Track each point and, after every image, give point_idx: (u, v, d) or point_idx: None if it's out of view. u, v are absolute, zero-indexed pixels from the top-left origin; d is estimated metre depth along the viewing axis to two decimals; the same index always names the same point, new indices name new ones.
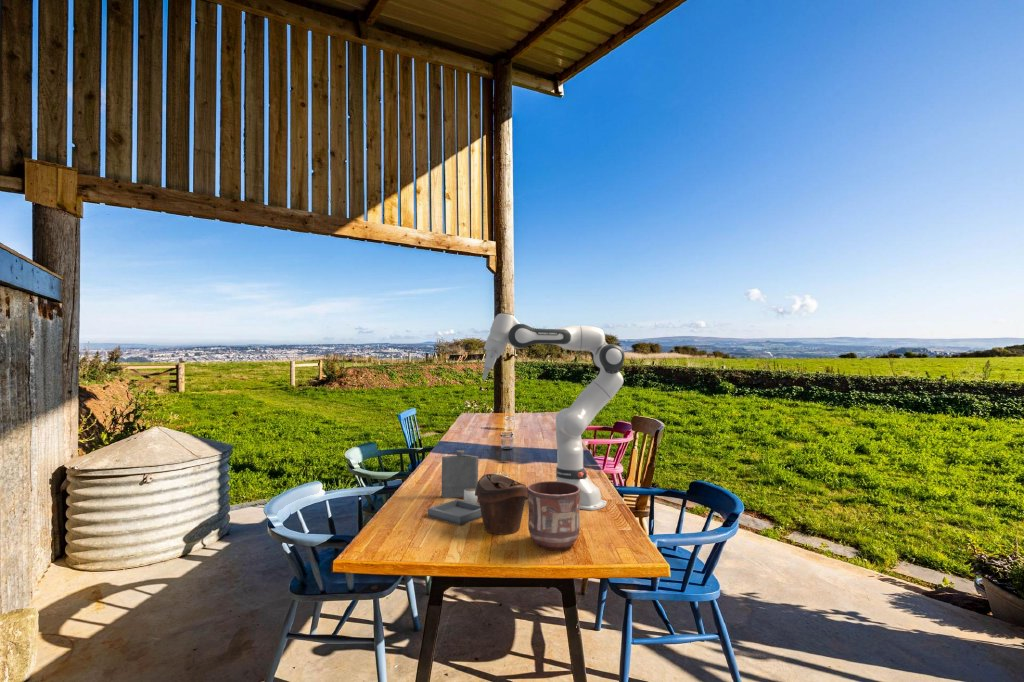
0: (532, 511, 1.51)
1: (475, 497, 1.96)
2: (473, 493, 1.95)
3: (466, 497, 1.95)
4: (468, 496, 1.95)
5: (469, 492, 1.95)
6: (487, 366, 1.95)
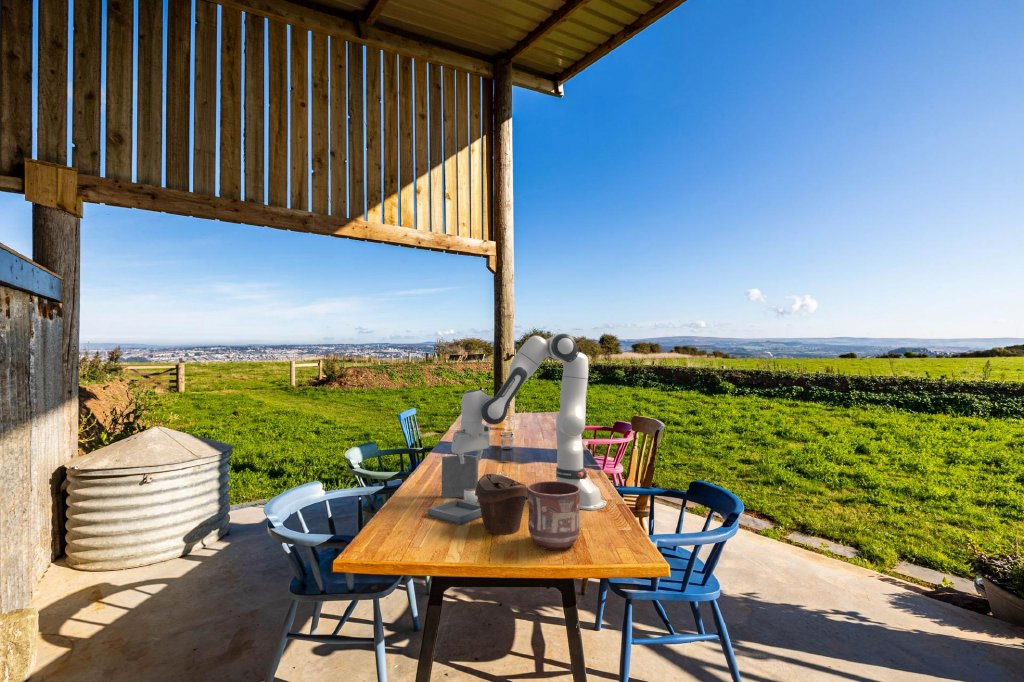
0: (532, 511, 1.51)
1: (475, 497, 1.96)
2: (473, 493, 1.95)
3: (466, 497, 1.95)
4: (468, 496, 1.95)
5: (469, 492, 1.95)
6: (453, 451, 1.91)
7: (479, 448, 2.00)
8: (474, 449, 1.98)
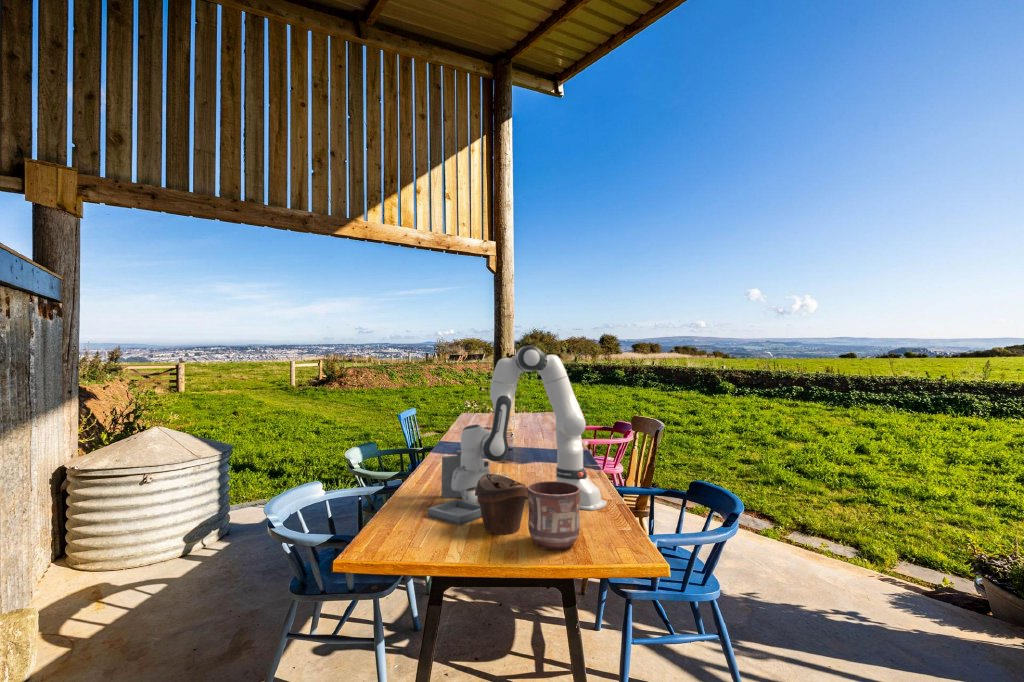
0: (532, 511, 1.50)
1: (475, 497, 1.96)
2: (473, 493, 1.95)
3: None
4: (468, 496, 1.95)
5: (469, 492, 1.95)
6: (453, 489, 1.90)
7: None
8: (474, 485, 1.97)
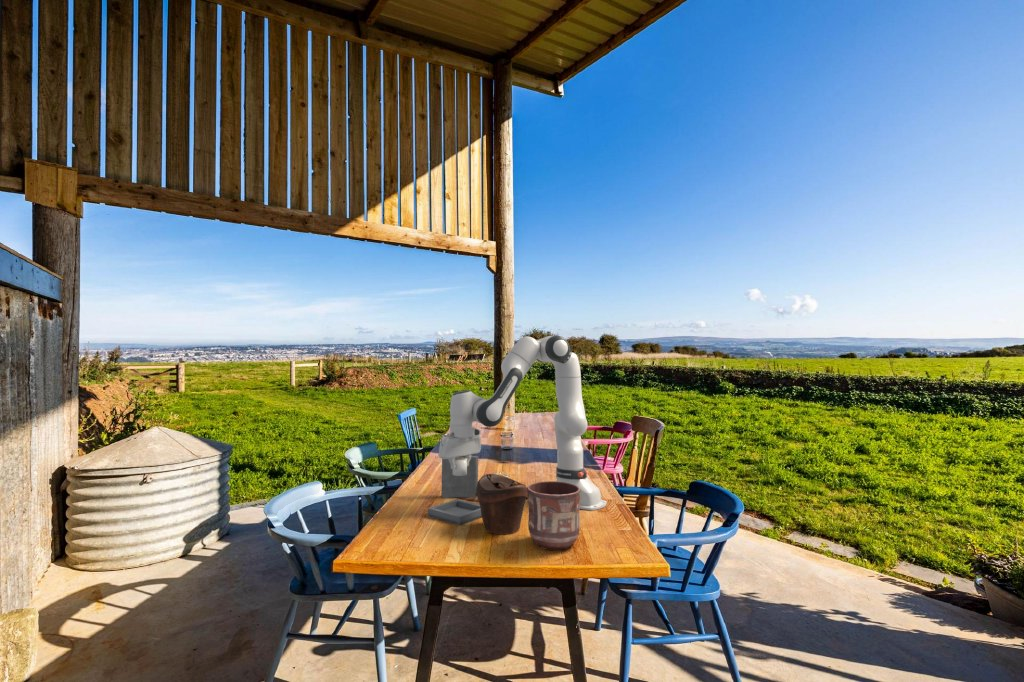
0: (532, 511, 1.51)
1: (464, 466, 1.84)
2: (462, 462, 1.84)
3: None
4: (457, 464, 1.83)
5: (458, 461, 1.83)
6: (441, 456, 1.78)
7: (469, 453, 1.88)
8: (463, 454, 1.85)
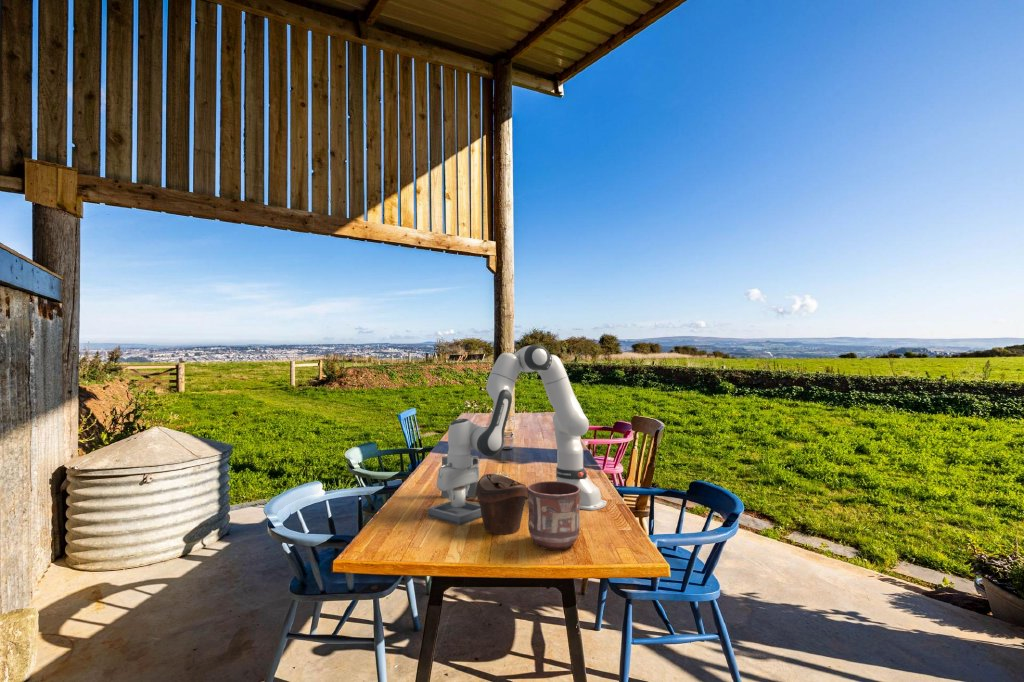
0: (532, 511, 1.51)
1: (463, 497, 1.81)
2: (461, 492, 1.80)
3: None
4: (455, 495, 1.80)
5: (456, 491, 1.80)
6: (439, 488, 1.75)
7: (467, 482, 1.85)
8: (462, 484, 1.82)
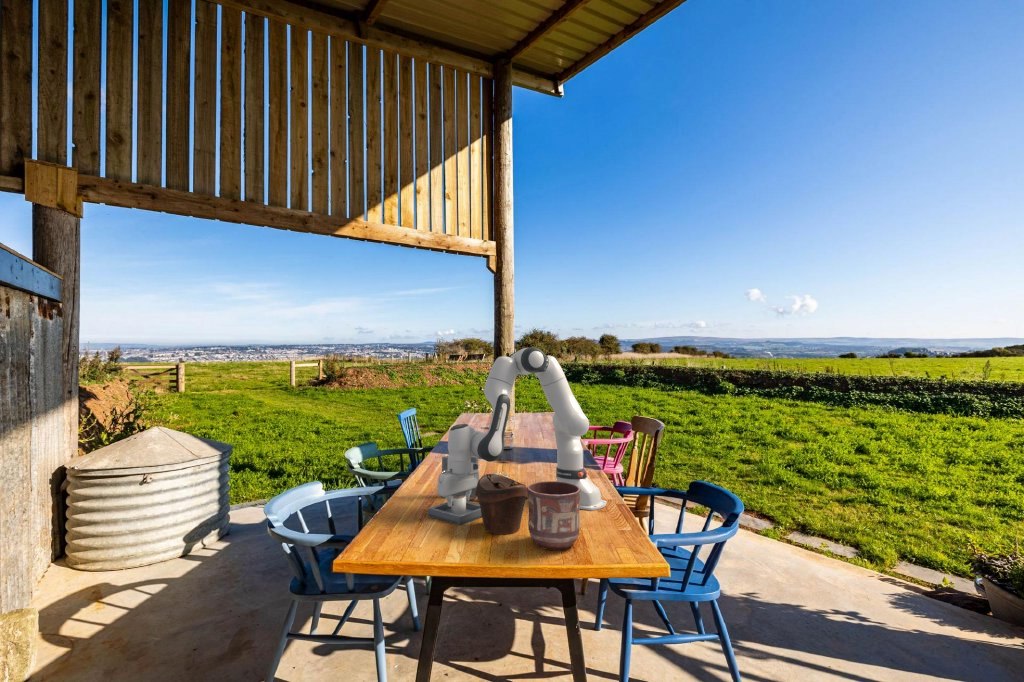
0: (532, 511, 1.50)
1: (463, 505, 1.81)
2: (461, 500, 1.80)
3: (453, 505, 1.80)
4: (456, 503, 1.80)
5: (457, 499, 1.80)
6: (439, 494, 1.75)
7: (468, 488, 1.84)
8: (462, 490, 1.82)
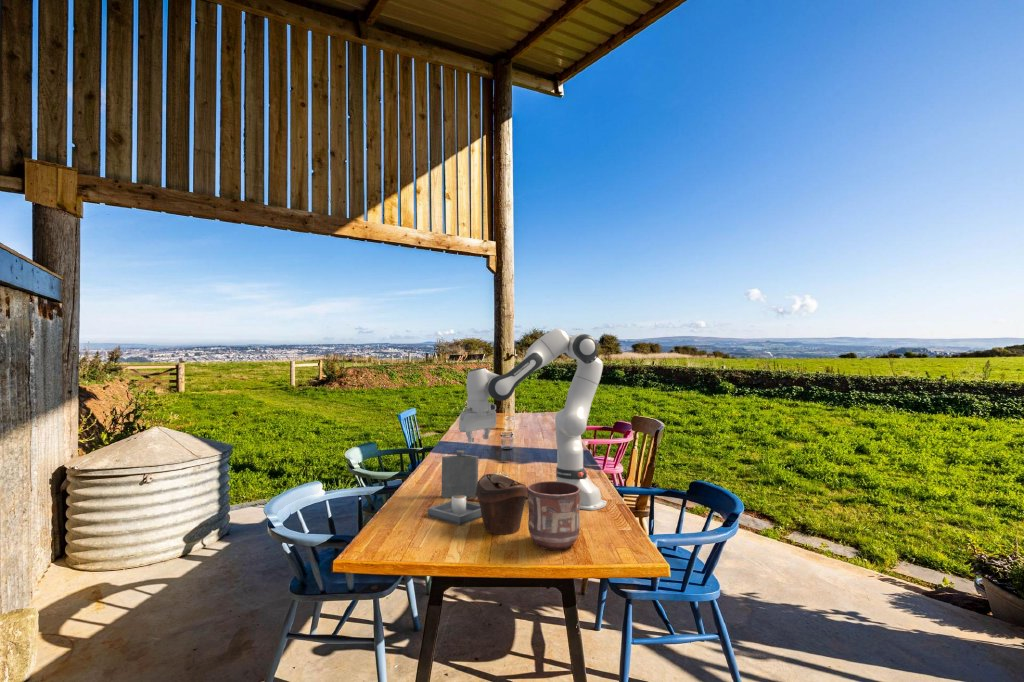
0: (532, 511, 1.51)
1: (463, 505, 1.81)
2: (461, 500, 1.80)
3: (454, 505, 1.80)
4: (456, 503, 1.80)
5: (457, 499, 1.80)
6: (461, 430, 1.89)
7: (486, 426, 1.98)
8: (482, 427, 1.96)
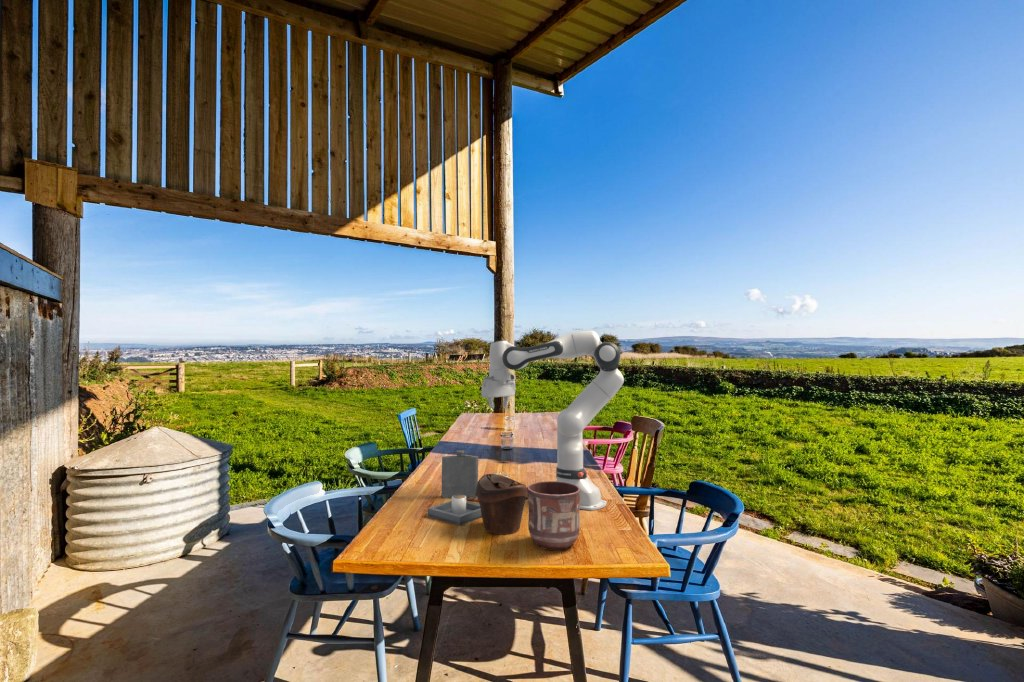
0: (532, 511, 1.51)
1: (463, 505, 1.81)
2: (461, 501, 1.80)
3: (453, 505, 1.80)
4: (456, 503, 1.80)
5: (456, 499, 1.80)
6: (483, 395, 2.06)
7: (506, 394, 2.16)
8: (502, 395, 2.13)
